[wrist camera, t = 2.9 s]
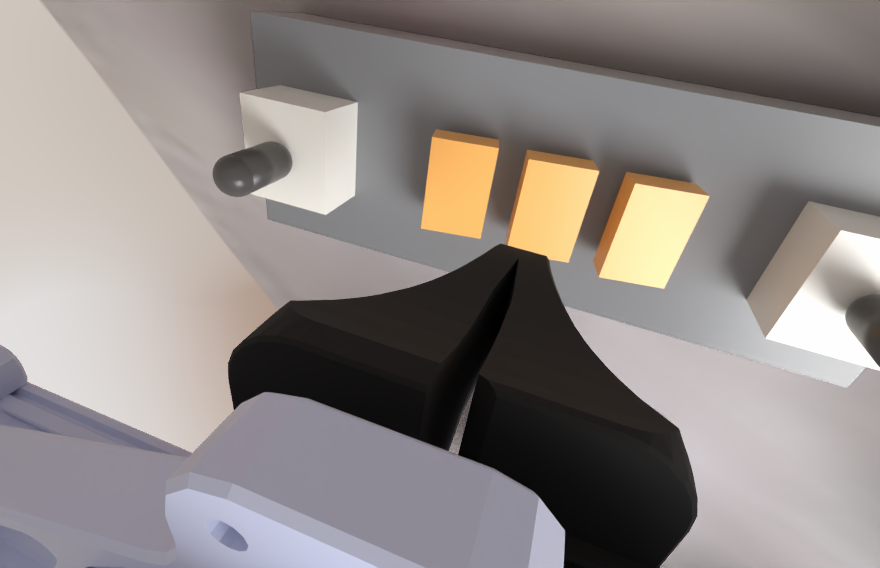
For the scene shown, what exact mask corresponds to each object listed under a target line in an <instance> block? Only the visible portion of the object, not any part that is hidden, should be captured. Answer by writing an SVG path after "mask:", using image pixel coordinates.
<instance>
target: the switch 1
mask: <svg viewBox="0 0 880 568" xmlns="http://www.w3.org/2000/svg"><path fill="white" fill-rule="evenodd" d="M498 151H499V140H498V139H492V138H486V137H480V136H474V135H468V134H462V133H456V132H450V131H444V130H439V129H436V130H435V132H434V134H433V136H432V142H431V150H430V158H429V166H428V174H427V183H426V191H425V199H424V207H423V215H422V223H421V229H427V230H432V231H438V232H444V233H450V234H455V235H461V236H467V237H473V238H478V239H480V238H481V233H482V229H483V224H484V219H485V214H486V209H487V204H488V200H489V195H490V190H491V185H492V180H493V175H494V171H495V166H496V161H497V156H498Z"/></svg>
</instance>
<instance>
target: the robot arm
mask: <svg viewBox="0 0 880 568" xmlns="http://www.w3.org/2000/svg"><path fill="white" fill-rule="evenodd" d="M228 376H229V385H230V390H231V395H232V401H233V407H234V411H233V412H232V413H231V414H230V415H229V416H228V417H227V418H226V419H225V420H224V421H223V422H222V423H221V424H220V425H219V426H218V428H217V429H216V430H215V431H214V432H213V433H212V434H211V435H210V436H209V437H208V438H207V439H206V440H205V441H204V442H203V443H202V444H201V445H200V446H199V447H198V448H197V449H196V450H195V451H194V452H193V453H191V452H188V451H186V450H184V449H182V448H179V447H177V446H175V445H172V444H170V443H168V442H165V441H163V440H160V439H158V438H156V437H154V436H151V435H149V434H147V433H145V432H142V431H140V430H137V429H135V428H133V427H131V426H128V425H126V424H123V423H121V422H119V421H116V420H114V419H112V418H109V417H107V416H105V415H103V414H100V413H98V412H96V411H93V410H91V409H89V408H86V407H84V406H82V405H79V404H77V403H75V402H73V401H70V400H68V399H66V398H63V397H61V396H59V395H56V394H54V393H52V392H49V391H47V390H45V389H42V388H40V387H38V386H36V385H33V384H31V383H29V382H27V376H26V373H25V371H24V368H23V366H22V365H21V363H20V362H19V360H18V359H17V357H16V356H15V355H14V354H13V353H12V352H10V351H9V350H8V349H6V348H5V347H3V346H1V345H0V568H660V566H661V564H662V563H663V562H664V561H665V560H666V558H667V557H668V556H669V555H670V554H671V553H672V551H673V550H674V549H675V548H676V547H677V545H678V544H679V543H680V542H681V541H682V539H683V538H684V537H685V536H686V535H687V533H688V532H689V531H690V529H691V527H692V525H693V523H694V521H695V519H696V517H697V493H696V488H695V483H694V477H693V473H692V469H691V465H690V462H689V458H688V455H687V452H686V449H685V446H684V443H683V440H682V437H681V433H680V430H679V428H677V427H676V426H675V425H674V424H672V423H671V422H670V421H668V420H667V419H666V418H665V417H663V416H662V415H661V414H659V413H658V412H657V411H655V410H654V409H653V408H652V407H650V406H649V405H648V404H646V403H645V402H644V401H642V400H641V399H640V398H639V397H638V396H637V395H635V394H634V393H633V392H632V391H631V390H630V389H629V388H628V387H627V386H626V385H624V384H623V383H622V382H621V381H620V380H619V379H618V378H617V377H616V376H615V375H614V374H613V373H612V372H611V371H610V370H609V369H608V368H607V367H606V366H605V365H604V363H603V362H602V361H601V360H600V359H599V358H598V357H597V355H596V354H595V353H594V352H593V351H592V350H591V348H590V347H589V346H588V345H587V343H586V342H585V341H584V339H583V338H582V336H581V335H580V333H579V332H578V330H577V329H576V327H575V326H574V324H573V322H572V321H571V319H570V317H569V315H568V313H567V311H566V309H565V307H564V305H563V303H562V300H561V298H560V295H559V293H558V290H557V288H556V285H555V282H554V279H553V276H552V272H551V268H550V261H549V259H548V257H547V256H545V255H541V254H538V253H534V252H530V251H526V250H523V249H519V248H515V247H512V246H508V245H504V244H501V243H500V244H498V245H496V246H495V247H493V248H491V249H490V250H488V251H487V252H485V253H484V254H482V255H481V256H479V257H477V258H476V259H474V260H472V261H471V262H469V263H467V264H465V265H464V266H462V267H460V268H458V269H456V270H454V271H452V272H450V273H448V274H446V275H444V276H442V277H439V278H437V279H434V280H432V281H429V282H426V283H423V284H420V285H417V286H414V287H410V288H406V289H402V290H398V291H393V292H389V293H384V294H380V295H374V296H367V297H360V298H350V299H339V300H311V301H290V302H288V303H287V304H286V305H284V306H283V307H282V308H280V309H279V310H278V311H277V312H275V313H274V314H273V315H272V316H271V317H270V318H268V320H266V321H265V322H264V323H263V324H262V325H260V326H259V327H258V328H257V329H256V330H255V331H254V332H252V333H251V334H250V335H249V336H248V337H247V338H246V339H244V340H243V341H242V342H241V343H240V344H239V345H238V346H237V347H236V348H235V349H234V350H233V352H232V355H231V357H230V360H229V362H228ZM475 385H476V386H475ZM474 387H475V390H474V394H473V398H472V402H471V406H470V410H469V414H468V418H467V422H466V426H465V430H464V434H463V438H462V442H461V446H460V450H459V454H458V455H457V454H454V453H451V452H449V448H450V446H451V443H452V440H453V437H454V434H455V432H456V429H457V426H458V423H459V421H460V418H461V415H462V413H463V411H464V408H465V406H466V404H467V402H468V400H469V398H470V396H471V393H472V391H473V389H474Z"/></svg>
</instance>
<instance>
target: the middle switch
mask: <svg viewBox="0 0 880 568" xmlns="http://www.w3.org/2000/svg"><path fill="white" fill-rule="evenodd" d="M598 174H599V169H598V168H597V166H596V164H595V163H594V161H592V160H586V159H580V158H575V157H569V156H563V155H557V154H551V153H545V152H539V151H533V150H527V152H526V156H525V160H524V165H523V169H522V173H521V177H520V181H519V185H518V189H517V193H516V198H515V202H514V206H513V210H512V214H511V218H510V222H509V227H508V231H507V235H506V245H508V246H512V247H515V248H519V249H523V250H526V251H530V252H534V253H538V254H541V255H545V256H547V257H548V259H550V260H556V261H561V262H567V263H568V262H569V259H570V256H571V253H572V251H573V248H574V245H575V242H576V239H577V236H578V233H579V230H580V227H581V224H582V221H583V218H584V215H585V212H586V209H587V206H588V204H589V201H590V198H591V195H592V192H593V189H594V186H595V183H596V180H597V177H598Z"/></svg>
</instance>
